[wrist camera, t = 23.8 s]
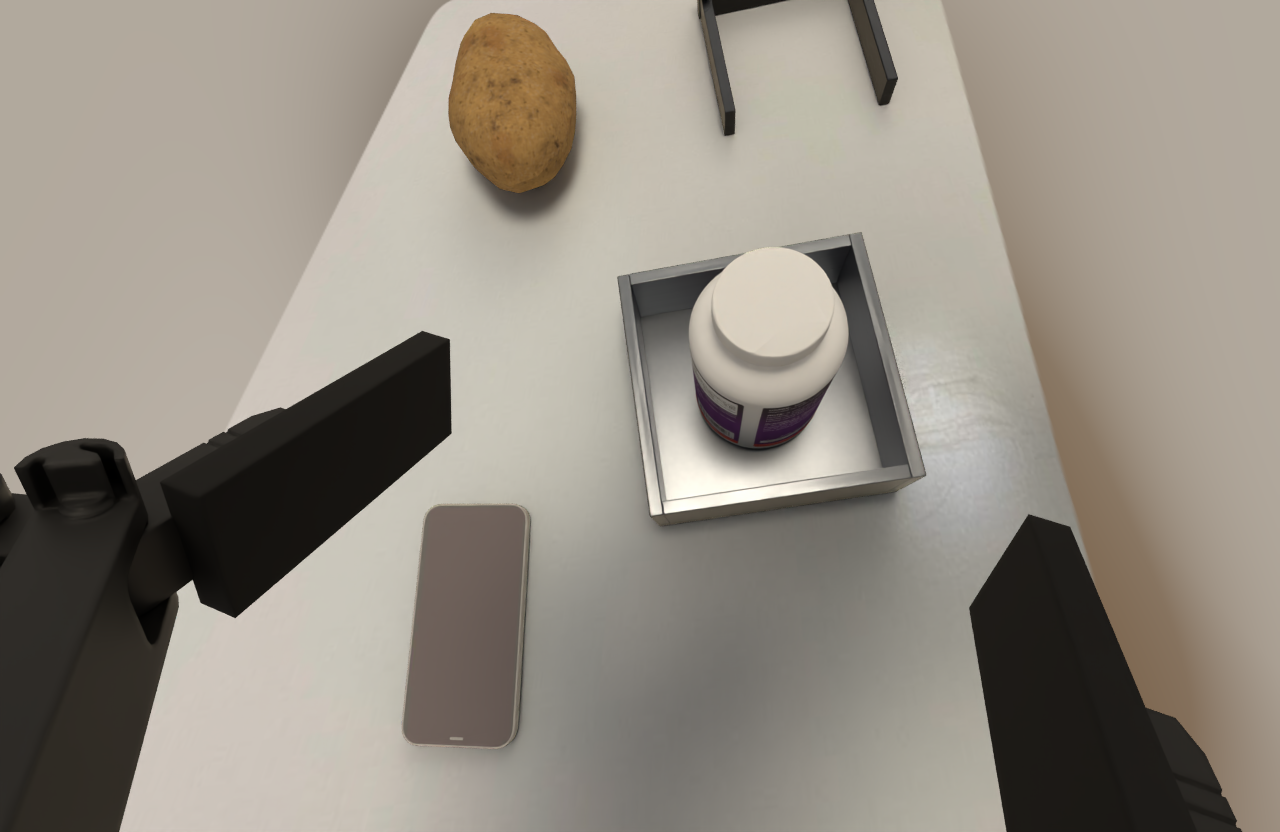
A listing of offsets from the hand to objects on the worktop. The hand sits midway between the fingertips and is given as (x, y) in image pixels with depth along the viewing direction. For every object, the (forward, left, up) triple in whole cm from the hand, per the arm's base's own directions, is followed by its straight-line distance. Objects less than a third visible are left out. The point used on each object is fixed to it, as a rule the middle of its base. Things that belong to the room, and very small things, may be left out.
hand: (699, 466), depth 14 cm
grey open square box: (-5, -9, -28) cm, 30 cm away
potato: (+9, -33, -28) cm, 45 cm away
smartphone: (+16, +3, -28) cm, 32 cm away
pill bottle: (-5, -9, -27) cm, 29 cm away
